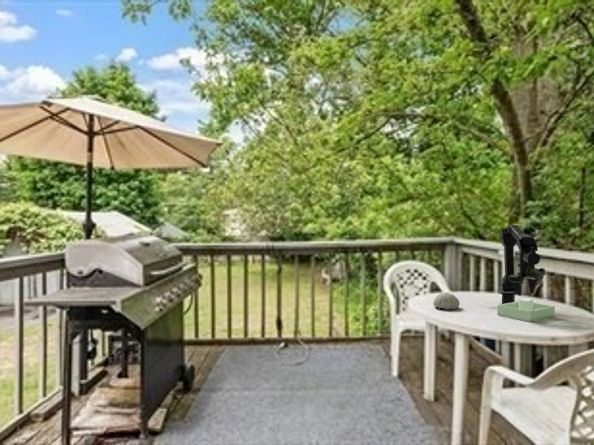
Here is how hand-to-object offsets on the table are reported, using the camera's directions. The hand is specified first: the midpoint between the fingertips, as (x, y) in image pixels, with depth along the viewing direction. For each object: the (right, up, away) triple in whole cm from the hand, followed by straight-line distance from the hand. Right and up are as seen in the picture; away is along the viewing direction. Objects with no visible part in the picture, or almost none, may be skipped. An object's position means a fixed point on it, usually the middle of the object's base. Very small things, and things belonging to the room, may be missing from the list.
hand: (525, 294), depth 277 cm
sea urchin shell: (-32, -10, +23) cm, 41 cm away
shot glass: (0, -10, +1) cm, 10 cm away
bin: (0, -11, +1) cm, 11 cm away
